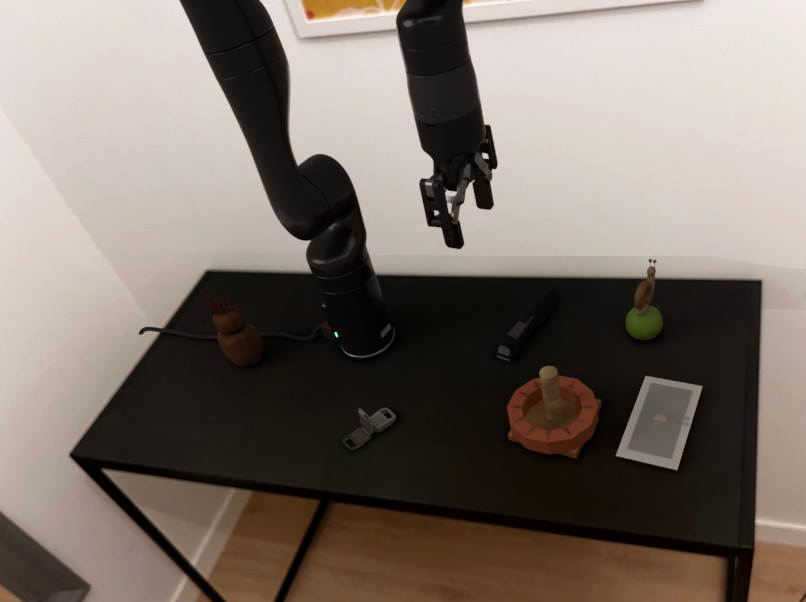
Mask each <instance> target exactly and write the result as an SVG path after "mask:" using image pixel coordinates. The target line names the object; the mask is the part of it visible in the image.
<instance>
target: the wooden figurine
mask: <svg viewBox="0 0 806 602" xmlns="http://www.w3.org/2000/svg"><path fill="white" fill-rule="evenodd" d="M201 296H202V298H203V299H204V301H205V303H206V305H207V307H208V309H209V311H210V313H211V315H212V317H211V318H212V323H213V325H214V327H215V328H216V330H218V332H217V335H218V336H217V338H218V340H217V342H218V345H219V347H220V350H221V351H222V353H223V355H224V356H225V357H226V358H227V359H229V361H231V362H232V363H234V364H235V365H237V366H239V367H251V366H254V365H256V364H258V363H259V362H260V360H261V358H262V357H263V354H264V344H263V339H262V337H261V336H260V334H259V333H260V332H259V330H258V329H257V328H256V327H255V326H254V325H253V324H251V323H249V322H246V321H245V317H244V314H243V312H242V311H241V310H240V309H239V308H238V307H236V306H235V305H233V304H232V303H231V301H227V302H226V301H225V299H224V298H221V299H220V300H219V299H218V298H217V296H216V295H215V294H212V299H213V301H212V300H211V299H210V298H209V297H208V296H207V295H206V294H205V293H202V295H201Z"/></svg>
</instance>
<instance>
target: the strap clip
mask: <svg viewBox="0 0 806 602" xmlns="http://www.w3.org/2000/svg"><path fill="white" fill-rule="evenodd" d="M386 413H388V414H389V415H390V416H391V417H390V418H388V417H387V416H386V415H385V414H386ZM357 414H358V418H359V422H360V425H361V426H359V427H358V428H355V429H354V430H353V431H351V432H350V433H348V434H347V435H346V436H345V437H343V439H341V441H342V443H343V444H344V446H345V447H347V448H348V449H349V450H350V451H355V450H357V449H359V448H361V447H362V446H363V445H364V444H366V443H367V442H368V441H370V440H371V436H372V435H373V434H374V432H375V433H381V432H382V431H383V430H385V429H387V428H388V427H390V426H391V425H393V424H394V422H395V421H396V420H397V416H396V414H395V413H394V412H393V411H392V410H390V409H389V408H388V407H383V408H381V409H378V411H376V412H375V413H373V414H372V415H371V416H369V415H368V414H367V413H366V412H365V411H364V410H363V409H362V408H361V407H359V408H357ZM348 440H351V441H352V443H354V444H355V445H354V446H350V445H349V443H347V441H348Z"/></svg>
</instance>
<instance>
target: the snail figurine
mask: <svg viewBox="0 0 806 602" xmlns="http://www.w3.org/2000/svg"><path fill="white" fill-rule="evenodd" d="M657 262H658V261H657V259H653V258H649V259H648V263H649V266H648V268H647V269H646V274H647V275H646V276H647V277H646V279H645V280H642V281H641V282H639V284H638V286H637V288H636V290H635V293H634V297H633V308H631V310H629V312H628V313H627V315H626V318H625V328H626V330H627V332H628V334H629V335H630V336H631V337H633V338H634V339H635V340H637V341H638V340H639V341H650V340H653V339H654V338H656V337H657V336H658V335H659V334H660V333H661V331H662V330H663V325H664V319H663V315H662V313H661V312H660V311H659V309H658V308H656V307H655V306H653V305H651V304H652V300H653V298H654V293H655V286H656V273H657V269H656V263H657ZM651 263H653V265H654V266H652V264H651Z"/></svg>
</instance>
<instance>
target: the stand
mask: <svg viewBox="0 0 806 602" xmlns="http://www.w3.org/2000/svg"><path fill="white" fill-rule="evenodd" d="M558 370H559V369H558V368H556V366H553V365H546V366H543V367H542V368H540V370H539V378H540V381H541V387H542V394H543V400H540V401H539V402H537V403H536V404H534V405H533V406H531V407H530V408H529V409H528V411H527V413H526V415H525V417H524V419H525V420H526V421H527V422H529V423H530V424H531V425H532V426H533V427H535V428H539V429H543V430H548V431H550V430H555V429H561V428H565V427H567V426H568V425H570V424H571V423H573V422H574V421H576V420H577V419H578V417H579V414H580V412H581V409H580V408H579V407H578V406H577V405H575V404H574V403H573V402H572V401H570V400H566V399H561V393H560V385H559V377H558V375H559V371H558ZM595 400H596V403H597V406H598V413H599V412H600V410H601V408H602V399H599V398H595ZM507 437H508V441H511V442H515V443H517V444H521V443H520V442H519V441H518V440H517V439H515V438H514V437H513V435H512V431H511V429H510V430H509V432H508V434H507ZM584 444H585V443H583V444H582V445H581V446H579V447H578V448H576V449H575V450H573V451H568V452H563V453H557V454H559V455H562V456H564V457H565V456H566V457H568V458H573V459H578V457H579V455H580V453H581V451H582V448H583V446H584Z"/></svg>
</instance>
